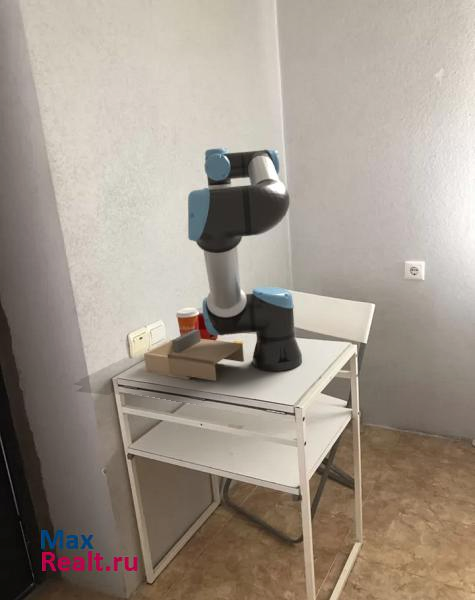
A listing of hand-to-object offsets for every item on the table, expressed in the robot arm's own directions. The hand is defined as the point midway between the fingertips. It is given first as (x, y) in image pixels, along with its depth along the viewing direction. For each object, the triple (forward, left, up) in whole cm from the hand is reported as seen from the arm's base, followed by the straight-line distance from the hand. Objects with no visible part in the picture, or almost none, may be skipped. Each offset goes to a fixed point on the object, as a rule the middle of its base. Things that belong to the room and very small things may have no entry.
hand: (227, 269), depth 171 cm
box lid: (-6, +24, -25) cm, 35 cm away
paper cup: (+11, +9, -27) cm, 30 cm away
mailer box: (+5, +24, -26) cm, 36 cm away
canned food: (+13, -2, -27) cm, 30 cm away
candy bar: (-2, +7, -27) cm, 28 cm away
